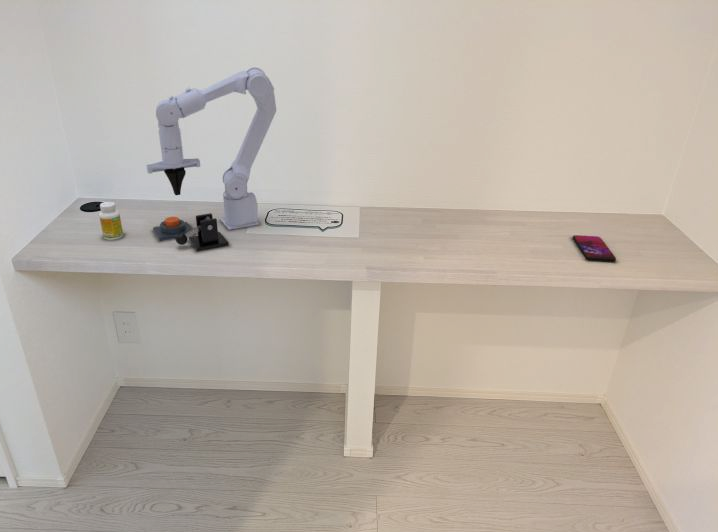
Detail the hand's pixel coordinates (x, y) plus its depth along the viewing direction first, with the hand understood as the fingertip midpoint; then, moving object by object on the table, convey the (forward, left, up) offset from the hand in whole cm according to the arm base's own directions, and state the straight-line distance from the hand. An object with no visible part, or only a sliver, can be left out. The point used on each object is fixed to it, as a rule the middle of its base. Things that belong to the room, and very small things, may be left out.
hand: (177, 194), depth 164 cm
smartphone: (-99, +63, -10) cm, 118 cm away
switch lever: (-1, +14, -7) cm, 16 cm away
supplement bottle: (+19, -2, -11) cm, 22 cm away
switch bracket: (-4, +14, -10) cm, 18 cm away
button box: (+3, +3, -10) cm, 11 cm away
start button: (+3, +3, -8) cm, 9 cm away
